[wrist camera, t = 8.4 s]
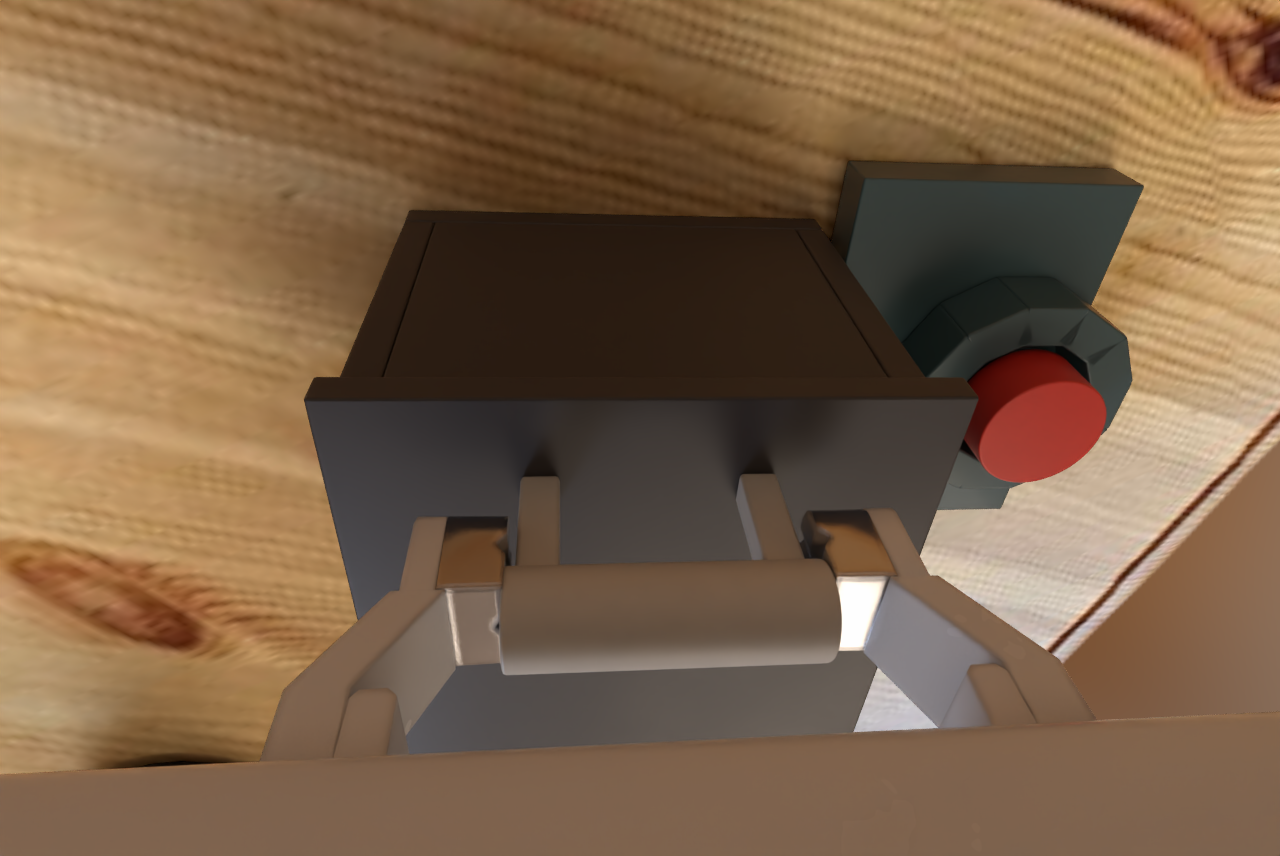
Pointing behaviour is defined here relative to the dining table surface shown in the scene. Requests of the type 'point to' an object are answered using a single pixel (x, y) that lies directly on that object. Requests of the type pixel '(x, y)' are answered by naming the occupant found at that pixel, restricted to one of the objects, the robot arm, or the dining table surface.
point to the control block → (989, 273)
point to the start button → (1033, 416)
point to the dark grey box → (620, 300)
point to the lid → (637, 539)
